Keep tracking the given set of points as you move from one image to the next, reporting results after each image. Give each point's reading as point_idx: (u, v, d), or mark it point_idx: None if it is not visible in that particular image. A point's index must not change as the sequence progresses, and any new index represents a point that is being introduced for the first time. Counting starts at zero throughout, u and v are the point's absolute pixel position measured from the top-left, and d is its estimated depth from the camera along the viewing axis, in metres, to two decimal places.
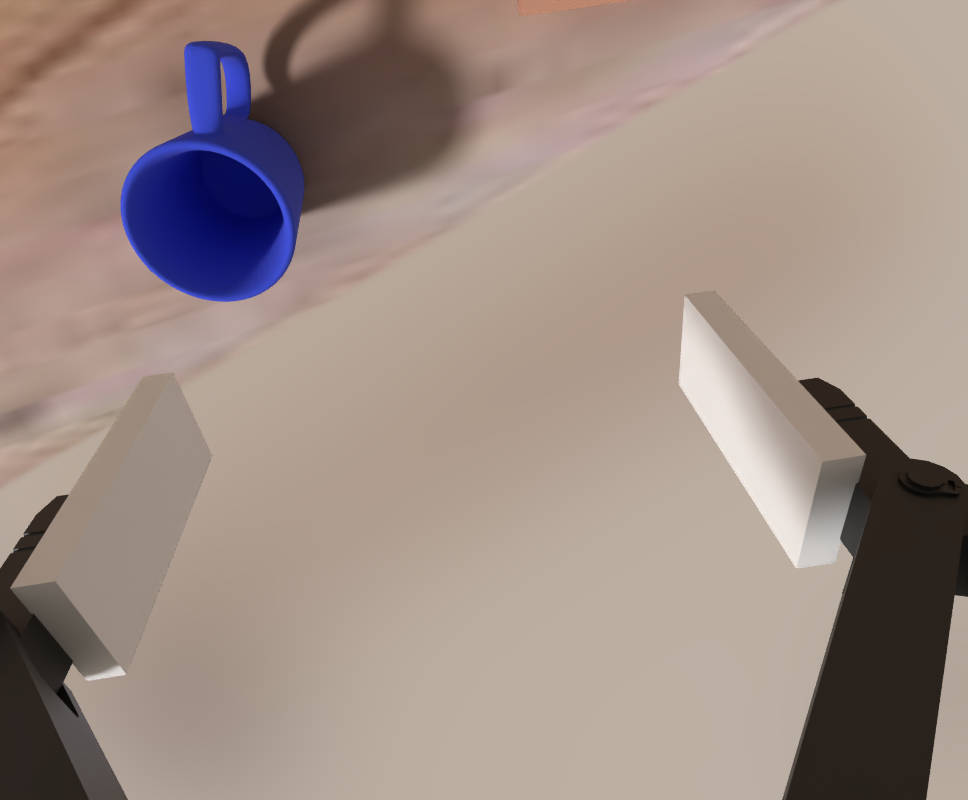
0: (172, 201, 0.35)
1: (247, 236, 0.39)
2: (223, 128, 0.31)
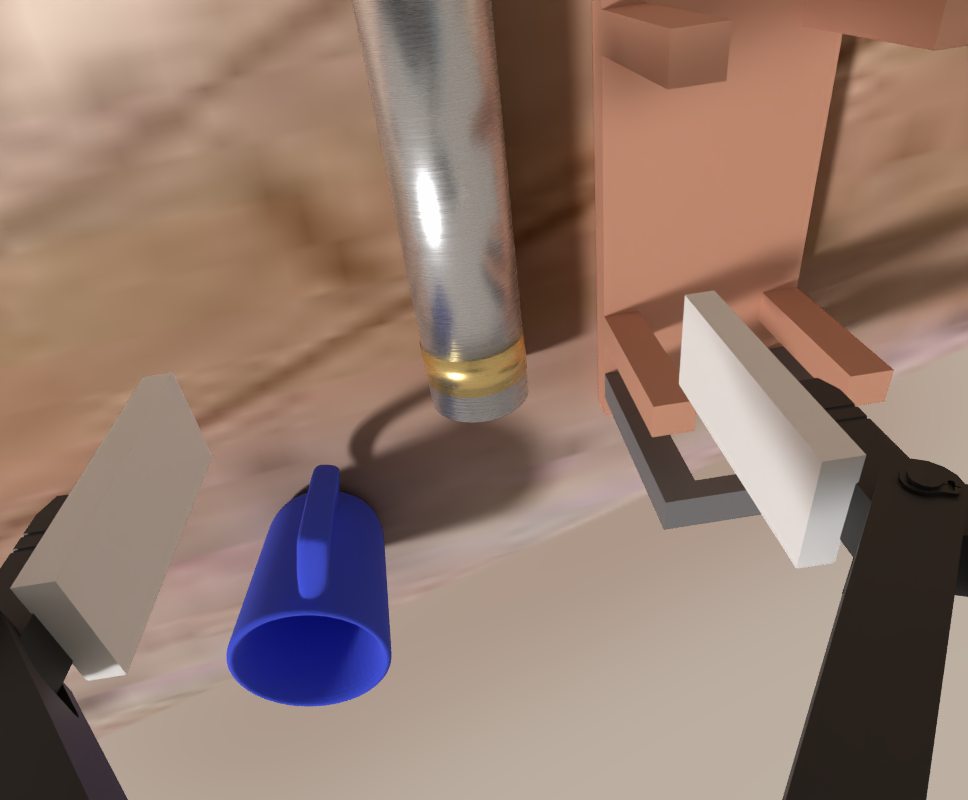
0: None
1: None
2: (327, 585, 0.32)
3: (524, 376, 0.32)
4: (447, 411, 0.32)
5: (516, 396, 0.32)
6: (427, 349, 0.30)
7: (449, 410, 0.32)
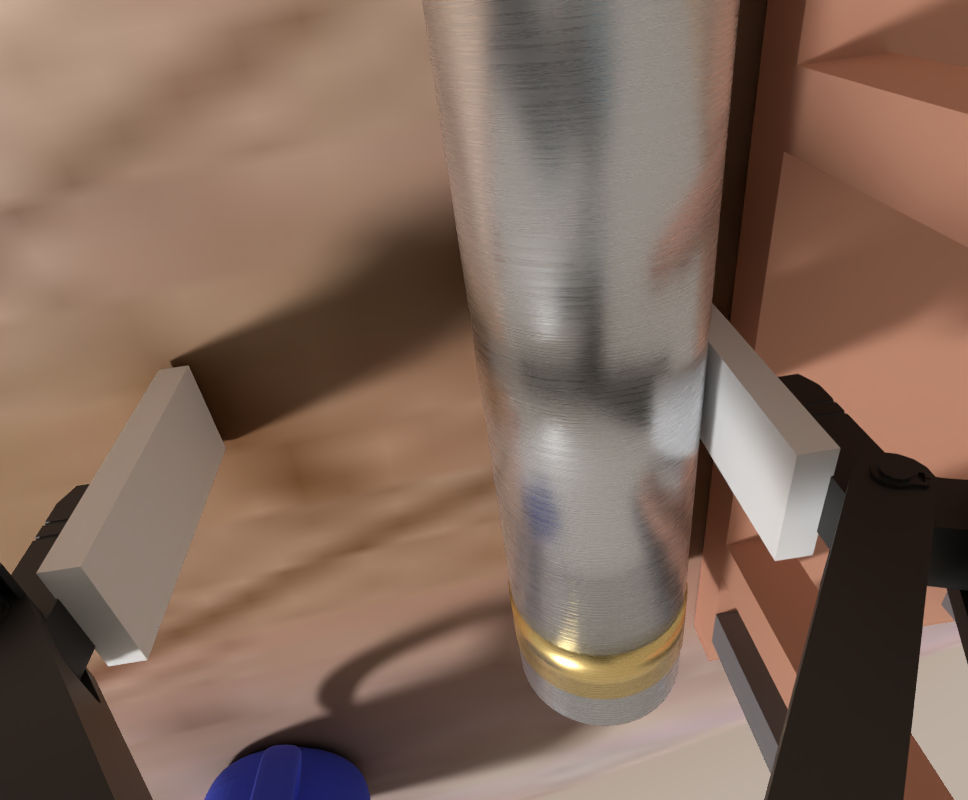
0: None
1: None
2: None
3: None
4: (635, 712, 0.19)
5: None
6: (611, 649, 0.17)
7: (639, 708, 0.18)
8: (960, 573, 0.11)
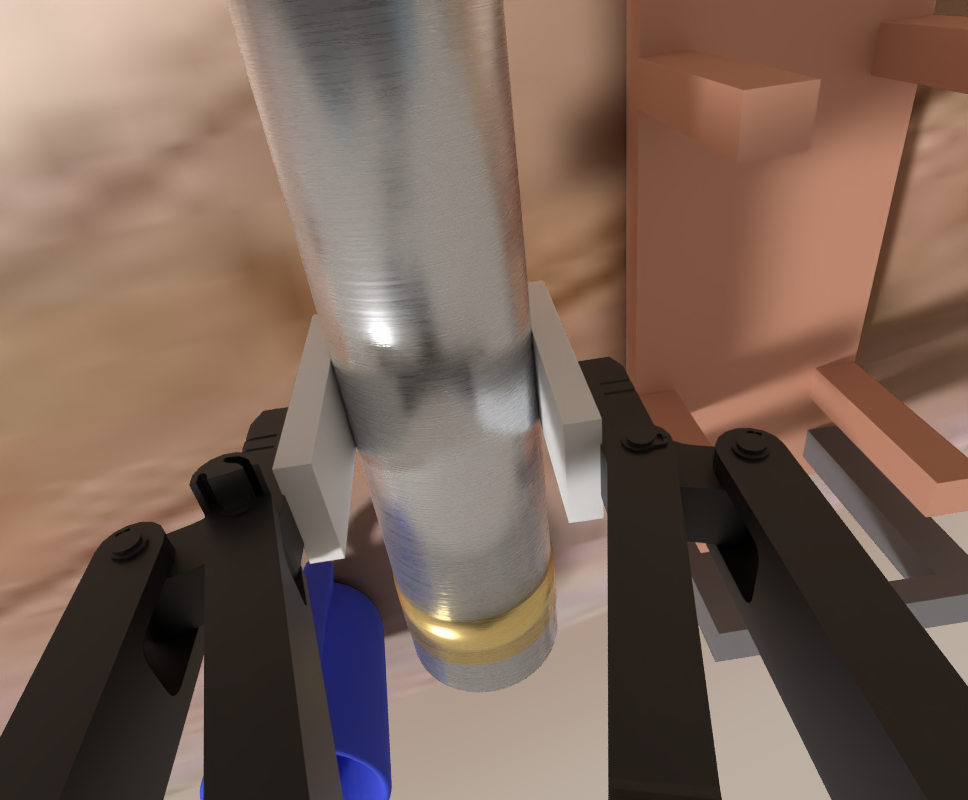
0: None
1: None
2: None
3: (550, 623, 0.21)
4: (428, 665, 0.21)
5: (534, 656, 0.20)
6: (398, 585, 0.19)
7: (430, 666, 0.21)
8: (699, 528, 0.12)
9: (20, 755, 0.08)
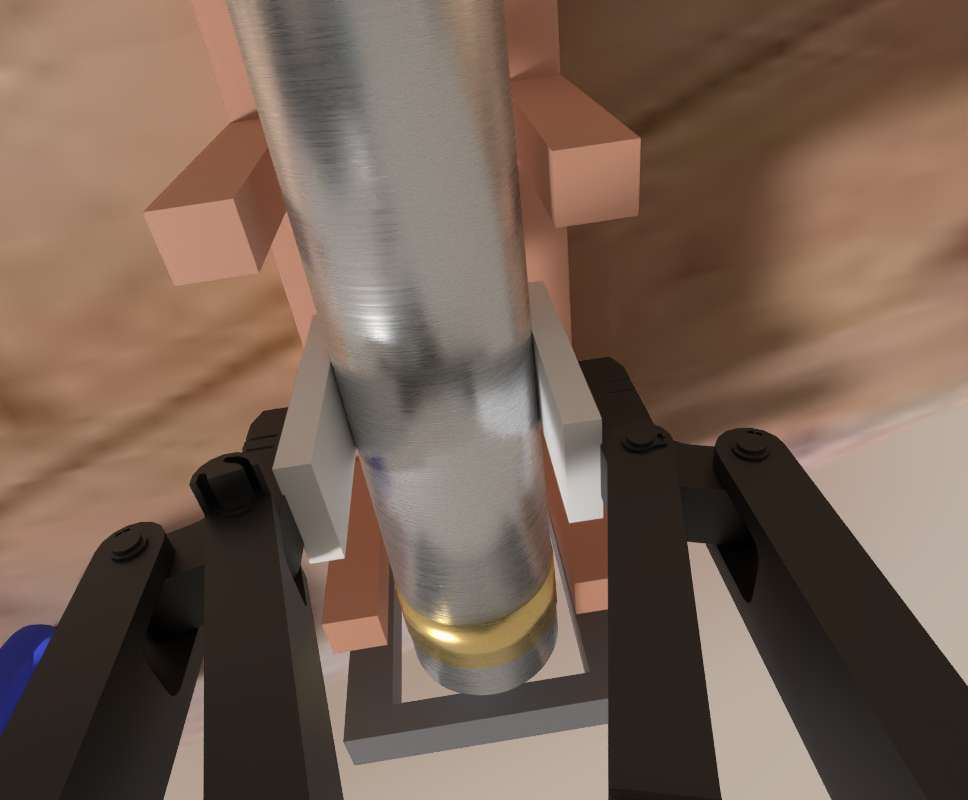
0: None
1: None
2: None
3: (550, 626, 0.21)
4: (428, 668, 0.21)
5: (535, 659, 0.20)
6: (398, 588, 0.19)
7: (430, 669, 0.21)
8: (699, 528, 0.12)
9: (20, 755, 0.08)
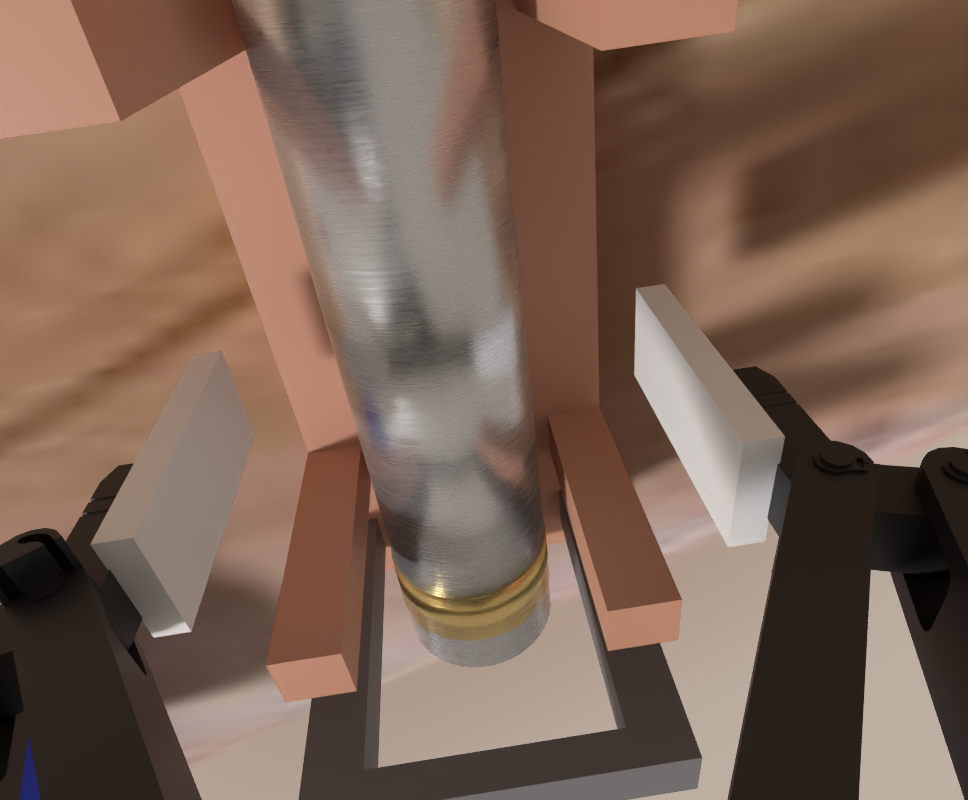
0: None
1: None
2: None
3: (542, 602, 0.21)
4: (425, 641, 0.22)
5: (527, 633, 0.21)
6: (396, 563, 0.20)
7: (426, 641, 0.22)
8: (899, 556, 0.11)
9: None
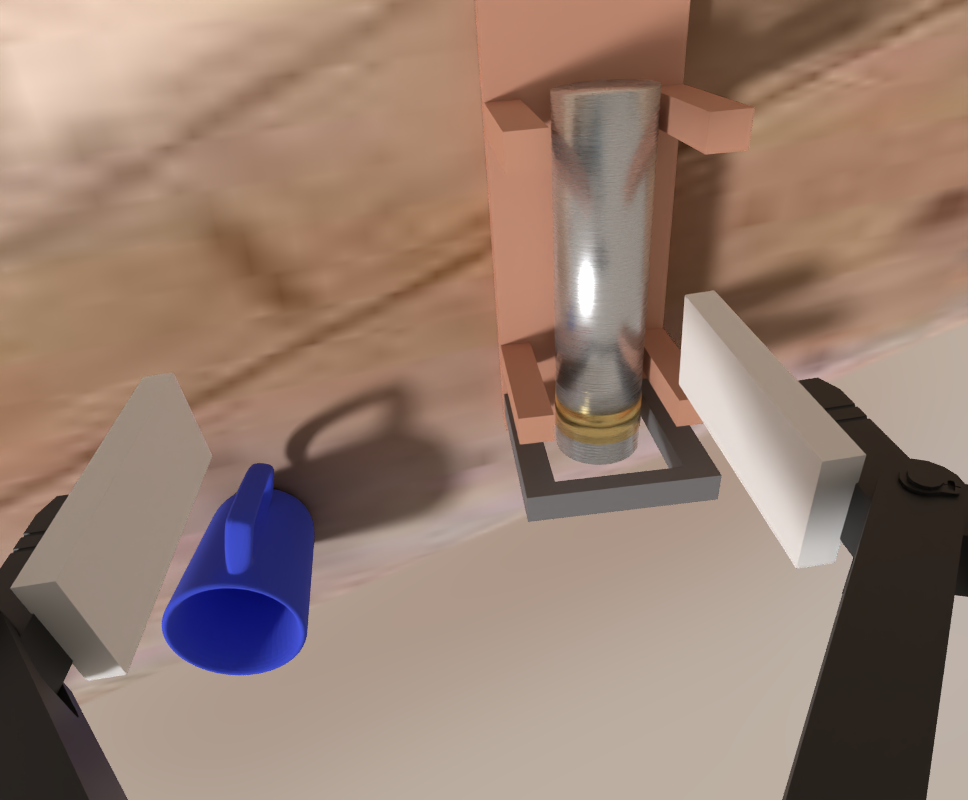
0: None
1: None
2: (252, 564, 0.37)
3: (638, 427, 0.39)
4: (576, 454, 0.38)
5: (633, 443, 0.38)
6: (567, 404, 0.37)
7: (578, 454, 0.38)
8: None
9: None
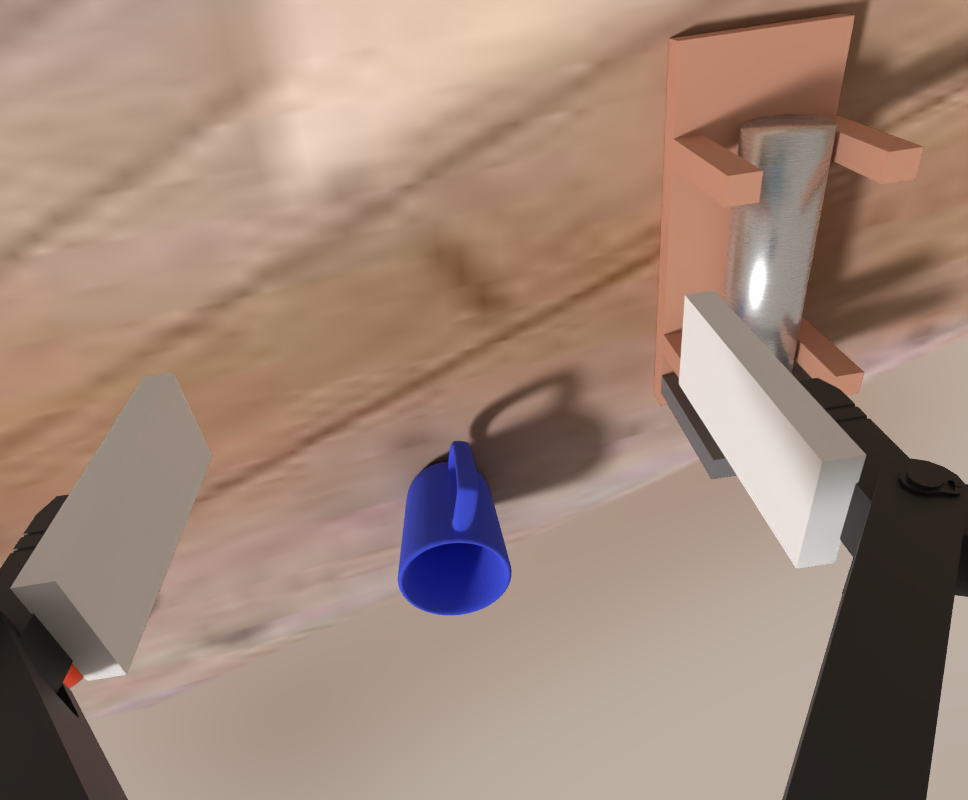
0: None
1: None
2: None
3: None
4: None
5: None
6: None
7: None
8: None
9: None
